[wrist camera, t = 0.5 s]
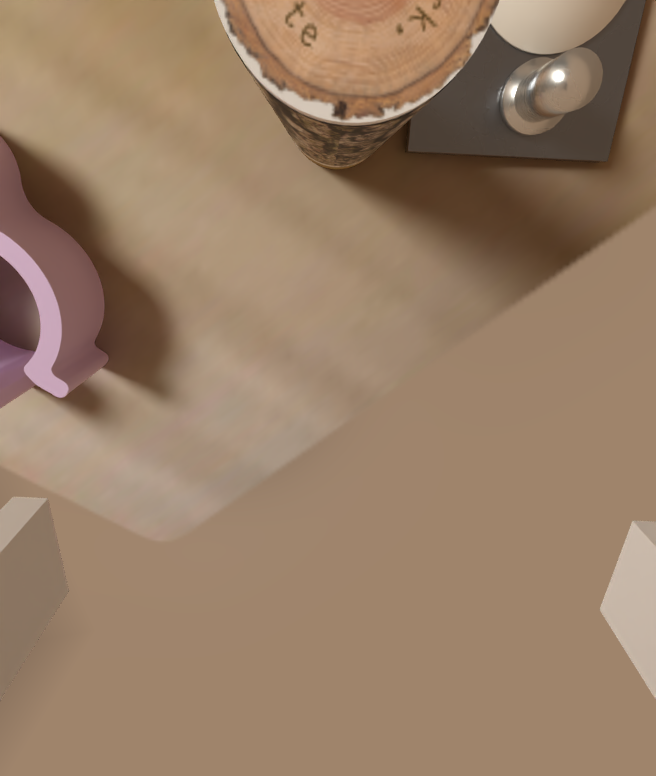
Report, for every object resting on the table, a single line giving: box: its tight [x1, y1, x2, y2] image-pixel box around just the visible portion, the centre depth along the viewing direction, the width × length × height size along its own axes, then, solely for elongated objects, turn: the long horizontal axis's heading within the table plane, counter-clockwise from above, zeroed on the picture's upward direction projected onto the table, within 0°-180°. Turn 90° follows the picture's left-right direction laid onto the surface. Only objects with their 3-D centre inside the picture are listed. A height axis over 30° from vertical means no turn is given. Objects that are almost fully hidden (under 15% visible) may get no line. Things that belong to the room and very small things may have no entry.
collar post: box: [500, 47, 603, 136], centre depth 30 cm, size 4×4×6 cm
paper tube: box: [214, 0, 499, 169], centre depth 22 cm, size 7×7×25 cm
